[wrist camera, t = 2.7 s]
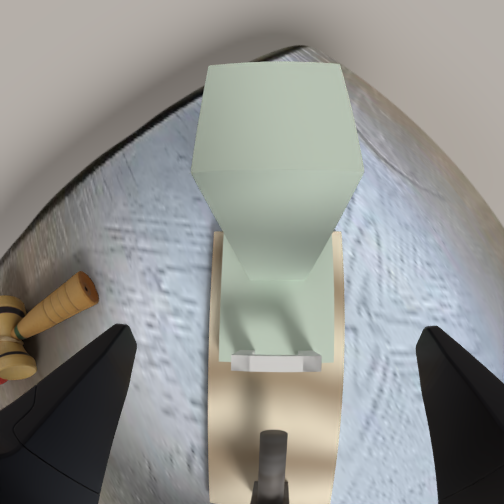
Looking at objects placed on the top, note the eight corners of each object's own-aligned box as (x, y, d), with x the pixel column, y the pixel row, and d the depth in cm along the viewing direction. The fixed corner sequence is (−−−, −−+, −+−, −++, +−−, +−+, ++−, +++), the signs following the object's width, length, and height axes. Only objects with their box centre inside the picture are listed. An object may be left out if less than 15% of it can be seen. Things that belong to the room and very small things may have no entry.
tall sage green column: (330, 360, 17) (451, 426, 4) (222, 359, 18) (94, 421, 4) (328, 234, 20) (401, 73, 6) (226, 234, 20) (146, 76, 7)
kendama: (87, 250, 24) (-20, 329, 20) (55, 235, 18) (-55, 330, 14) (123, 325, 23) (8, 392, 20) (97, 330, 17) (-26, 404, 14)
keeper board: (327, 499, 16) (339, 538, 10) (212, 496, 16) (194, 534, 11) (338, 235, 21) (357, 205, 15) (216, 235, 22) (197, 205, 16)
